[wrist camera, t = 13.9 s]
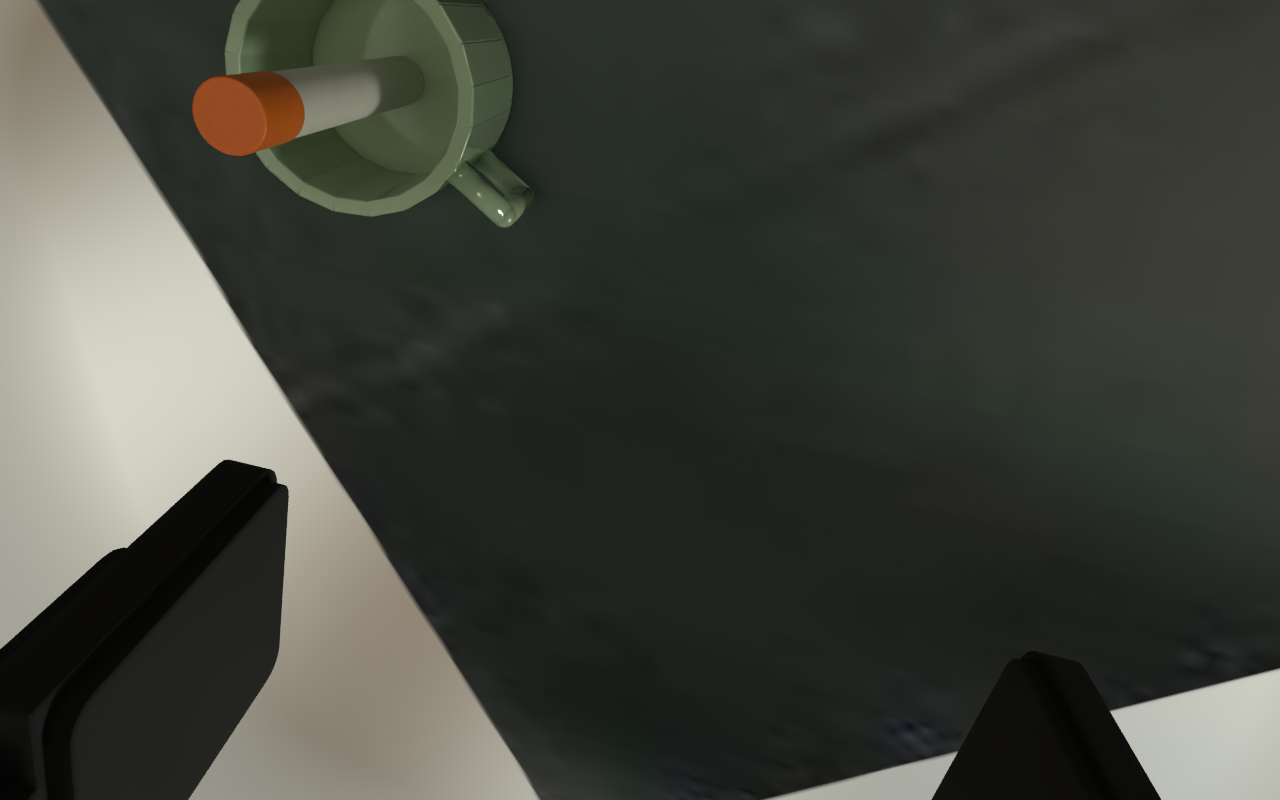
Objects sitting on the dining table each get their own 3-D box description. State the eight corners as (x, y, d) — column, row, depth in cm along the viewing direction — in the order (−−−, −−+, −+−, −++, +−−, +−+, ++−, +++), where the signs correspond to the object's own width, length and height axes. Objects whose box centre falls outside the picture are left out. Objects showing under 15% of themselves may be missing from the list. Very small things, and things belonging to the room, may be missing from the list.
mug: (268, 81, 37) (178, 94, 31) (387, -93, 34) (315, -118, 28) (477, 265, 40) (434, 312, 34) (604, 121, 37) (584, 143, 31)
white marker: (380, 49, 36) (191, 67, 22) (428, 61, 36) (268, 86, 23) (375, 99, 37) (191, 145, 23) (422, 111, 37) (265, 164, 23)
